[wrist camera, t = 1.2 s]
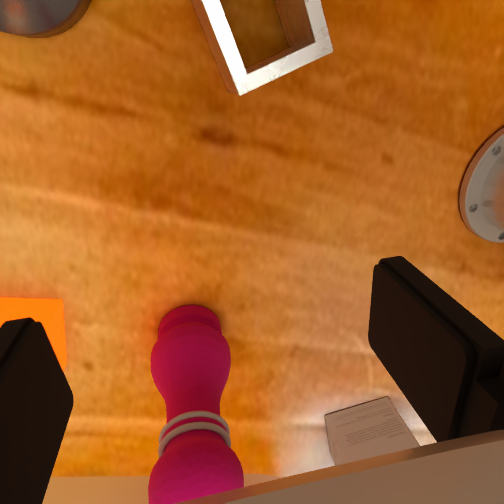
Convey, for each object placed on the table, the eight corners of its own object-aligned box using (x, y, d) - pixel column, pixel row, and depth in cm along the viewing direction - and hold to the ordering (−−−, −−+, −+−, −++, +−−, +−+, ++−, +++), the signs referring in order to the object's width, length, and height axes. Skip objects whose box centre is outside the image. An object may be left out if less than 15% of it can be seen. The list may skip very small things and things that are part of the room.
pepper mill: (170, 366, 39) (163, 611, 21) (141, 315, 35) (104, 557, 18) (234, 342, 39) (280, 567, 21) (211, 289, 35) (243, 504, 18)
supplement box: (329, 455, 51) (382, 590, 38) (323, 413, 47) (380, 548, 34) (390, 437, 52) (462, 563, 38) (389, 394, 47) (471, 519, 34)
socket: (274, -44, 25) (300, -75, 19) (303, 55, 28) (333, 51, 22) (189, -3, 25) (192, -23, 20) (228, 91, 28) (239, 95, 23)
